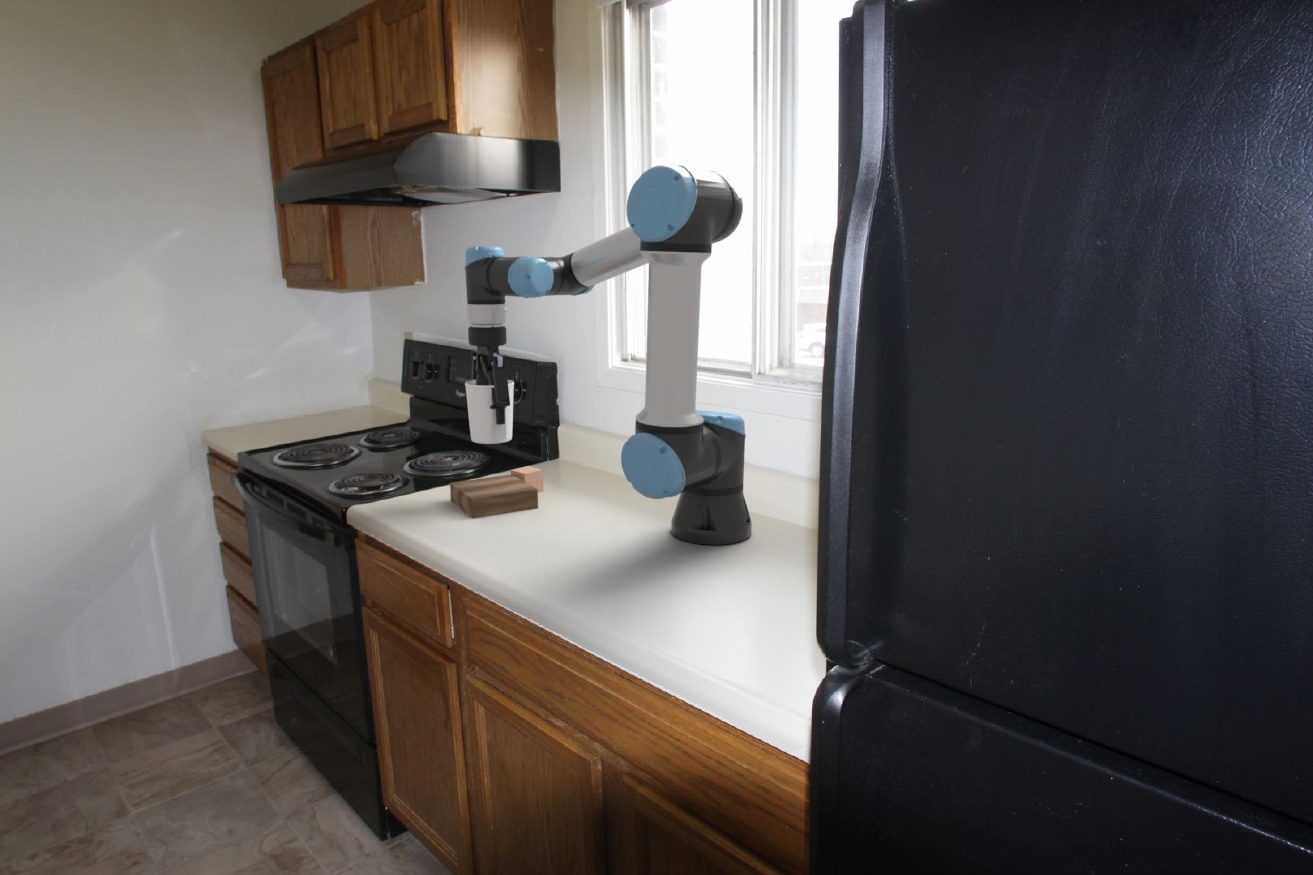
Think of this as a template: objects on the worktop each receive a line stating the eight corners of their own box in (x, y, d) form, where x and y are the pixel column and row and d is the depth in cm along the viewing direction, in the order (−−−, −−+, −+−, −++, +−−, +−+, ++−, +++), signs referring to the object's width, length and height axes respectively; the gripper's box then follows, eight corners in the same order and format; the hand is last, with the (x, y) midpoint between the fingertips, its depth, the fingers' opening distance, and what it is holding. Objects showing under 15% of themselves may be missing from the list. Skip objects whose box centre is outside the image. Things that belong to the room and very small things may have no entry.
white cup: (504, 446, 164) (502, 386, 161) (459, 443, 166) (456, 384, 163) (522, 436, 173) (521, 379, 171) (479, 433, 175) (477, 377, 173)
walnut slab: (538, 507, 170) (537, 489, 169) (472, 518, 163) (471, 498, 162) (513, 491, 182) (512, 474, 181) (450, 500, 174) (450, 482, 174)
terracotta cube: (543, 491, 182) (542, 469, 181) (525, 496, 179) (524, 473, 178) (529, 487, 186) (529, 465, 185) (511, 491, 182) (510, 469, 181)
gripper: (525, 328, 157) (528, 443, 162) (486, 321, 175) (490, 424, 180) (487, 330, 153) (492, 447, 158) (451, 322, 172) (456, 427, 176)
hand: (491, 435), depth 169 cm, fingers closed on white cup, 9 cm apart
